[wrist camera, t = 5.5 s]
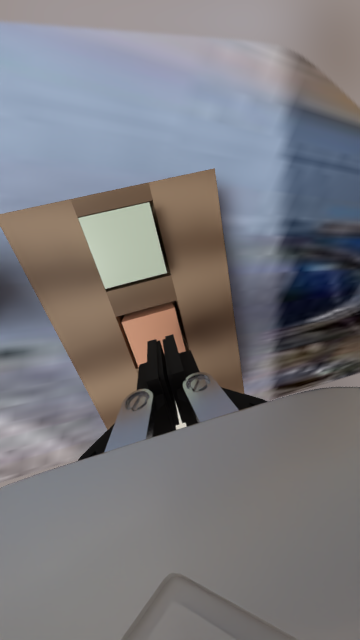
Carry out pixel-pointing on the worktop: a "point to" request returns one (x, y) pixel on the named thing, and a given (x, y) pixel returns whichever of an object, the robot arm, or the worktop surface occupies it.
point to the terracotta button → (151, 329)
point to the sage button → (124, 244)
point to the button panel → (132, 283)
